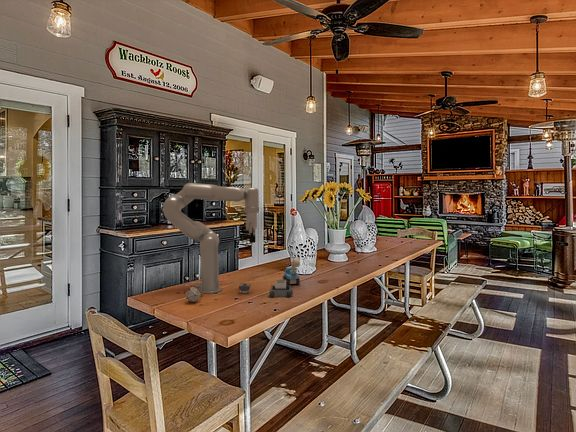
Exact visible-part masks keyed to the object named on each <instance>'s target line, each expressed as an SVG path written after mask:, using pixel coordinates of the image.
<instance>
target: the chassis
mask: <svg viewBox="0 0 576 432" xmlns="http://www.w3.org/2000/svg"><path fill="white" fill-rule="evenodd" d="M293 293H294V289H292V284H289V285H286V290H275V284H273V285H270V289H269V290H268V294H267V296H268V298H269V297H270V298H274V297H275V298H278V297H281V298H282V297H285V298H293V296H294V294H293Z"/></svg>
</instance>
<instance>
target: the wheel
mask: <svg viewBox="0 0 576 432" xmlns="http://www.w3.org/2000/svg"><path fill="white" fill-rule="evenodd" d="M240 290H249V291H250V290H251V283H239V285H238V291H240Z"/></svg>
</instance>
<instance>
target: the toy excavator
mask: <svg viewBox="0 0 576 432" xmlns="http://www.w3.org/2000/svg"><path fill="white" fill-rule="evenodd" d="M297 267H298V268H299V267H300V259H299V257H296V258H295V257H294V258H293V259H292V261H291V266H287V267H286V268H285V270H284V272H283V276H281V277H282V280H286V285H292V284H293V285H295V284H296V285H300V281H301V280H300V275H299V274H298V273H297Z"/></svg>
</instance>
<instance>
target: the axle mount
mask: <svg viewBox="0 0 576 432" xmlns="http://www.w3.org/2000/svg"><path fill="white" fill-rule="evenodd" d="M239 291H240V294H242V295H246V294H249V293H250V290H239Z"/></svg>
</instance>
